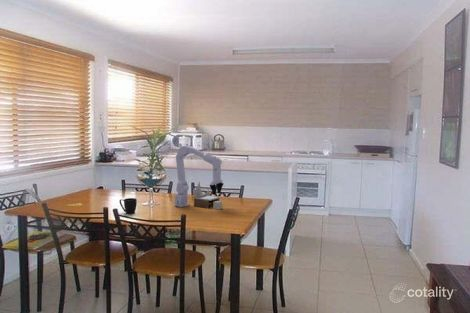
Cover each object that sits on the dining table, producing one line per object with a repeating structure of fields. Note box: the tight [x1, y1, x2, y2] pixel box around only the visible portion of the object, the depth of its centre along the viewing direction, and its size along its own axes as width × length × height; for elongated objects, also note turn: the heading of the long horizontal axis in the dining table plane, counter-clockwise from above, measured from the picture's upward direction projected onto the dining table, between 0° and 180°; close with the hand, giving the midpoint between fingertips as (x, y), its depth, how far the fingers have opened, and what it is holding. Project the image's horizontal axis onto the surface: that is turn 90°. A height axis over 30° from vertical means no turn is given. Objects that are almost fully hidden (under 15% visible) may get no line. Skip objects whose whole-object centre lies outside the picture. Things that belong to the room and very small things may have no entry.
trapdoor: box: [196, 194, 220, 201], centre depth 300 cm, size 12×12×2 cm
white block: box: [212, 200, 223, 210], centre depth 290 cm, size 4×4×5 cm
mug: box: [118, 197, 138, 215], centre depth 272 cm, size 8×12×10 cm
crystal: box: [192, 181, 210, 199], centre depth 319 cm, size 10×13×15 cm
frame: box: [193, 197, 220, 209], centre depth 300 cm, size 15×12×6 cm
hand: (216, 193), depth 292 cm, fingers open, 7 cm apart
